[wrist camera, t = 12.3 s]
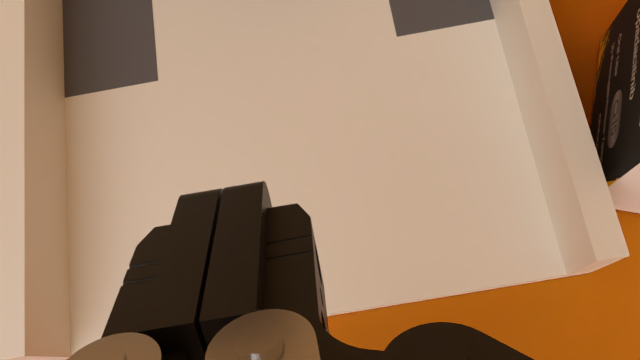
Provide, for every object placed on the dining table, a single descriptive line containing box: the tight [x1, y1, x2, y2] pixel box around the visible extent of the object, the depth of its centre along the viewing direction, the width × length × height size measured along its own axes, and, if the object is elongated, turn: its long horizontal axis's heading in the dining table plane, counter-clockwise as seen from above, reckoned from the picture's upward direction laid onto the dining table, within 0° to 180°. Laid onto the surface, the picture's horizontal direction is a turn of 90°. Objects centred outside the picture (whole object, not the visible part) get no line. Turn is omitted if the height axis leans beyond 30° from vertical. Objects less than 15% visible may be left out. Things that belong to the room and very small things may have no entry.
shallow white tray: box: [0, 0, 630, 360], centre depth 24 cm, size 20×25×4 cm
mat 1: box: [62, 0, 158, 98], centre depth 26 cm, size 4×6×1 cm, turn 9°
